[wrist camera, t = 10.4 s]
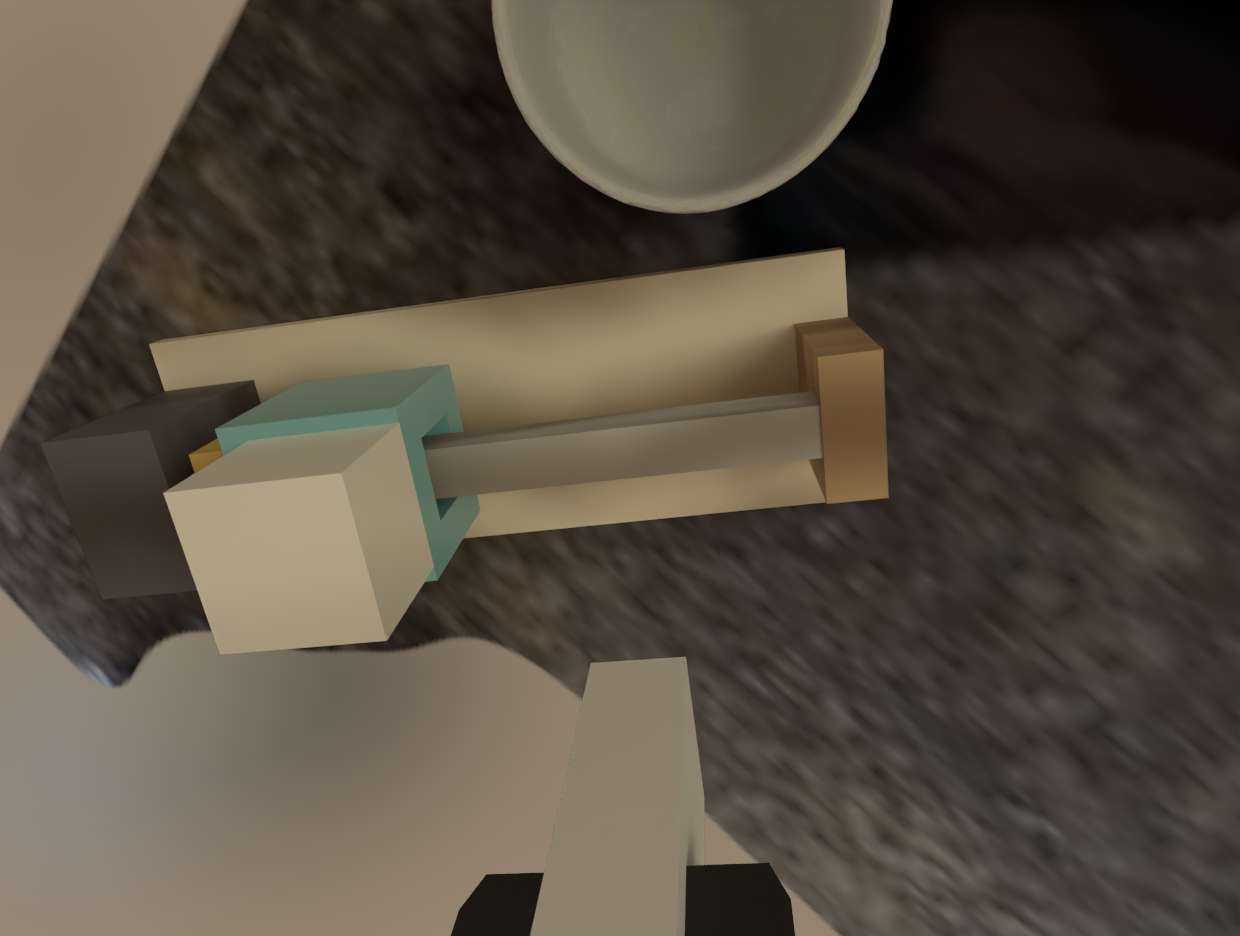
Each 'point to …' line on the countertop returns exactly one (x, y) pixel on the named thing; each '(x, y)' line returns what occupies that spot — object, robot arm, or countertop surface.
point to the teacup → (688, 89)
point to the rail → (531, 406)
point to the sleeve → (322, 512)
